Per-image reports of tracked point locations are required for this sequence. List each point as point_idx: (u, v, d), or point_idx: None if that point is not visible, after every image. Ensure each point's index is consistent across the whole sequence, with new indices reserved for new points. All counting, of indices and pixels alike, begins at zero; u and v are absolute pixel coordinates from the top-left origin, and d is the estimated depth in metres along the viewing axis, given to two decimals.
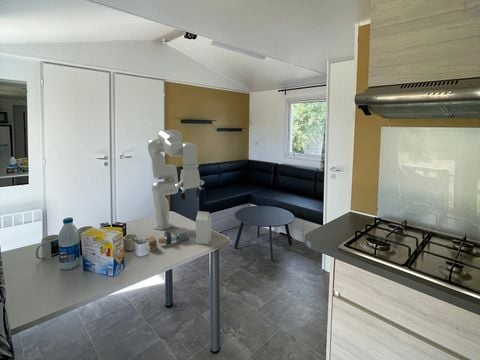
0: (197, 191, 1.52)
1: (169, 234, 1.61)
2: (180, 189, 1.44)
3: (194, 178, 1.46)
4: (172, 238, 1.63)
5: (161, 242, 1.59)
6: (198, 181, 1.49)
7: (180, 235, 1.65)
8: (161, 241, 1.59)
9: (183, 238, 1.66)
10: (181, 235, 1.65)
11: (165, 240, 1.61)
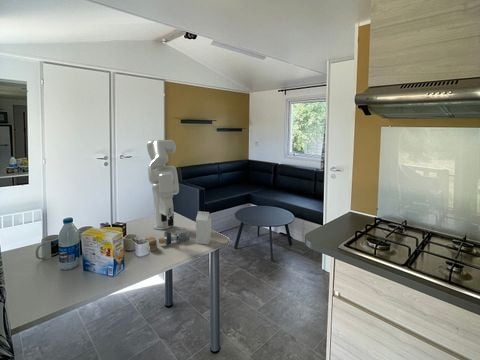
0: (163, 216, 1.63)
1: (169, 234, 1.61)
2: None
3: None
4: (172, 238, 1.63)
5: (161, 242, 1.59)
6: None
7: (180, 235, 1.65)
8: (161, 241, 1.59)
9: (183, 238, 1.66)
10: (181, 235, 1.65)
11: (165, 240, 1.61)
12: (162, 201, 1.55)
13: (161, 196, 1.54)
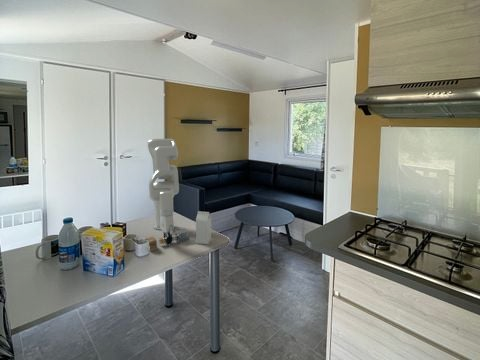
0: None
1: None
2: None
3: None
4: (172, 238, 1.63)
5: (161, 242, 1.59)
6: None
7: (180, 235, 1.65)
8: (161, 241, 1.59)
9: (183, 238, 1.66)
10: (181, 235, 1.65)
11: (165, 240, 1.61)
12: (163, 218, 1.58)
13: (162, 214, 1.56)
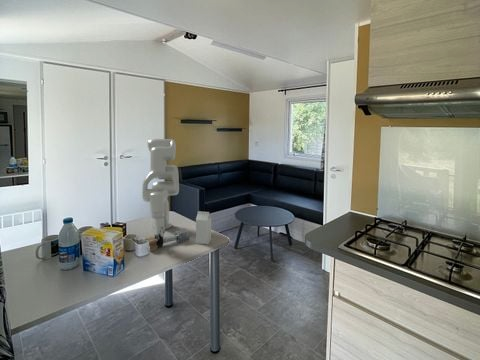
0: None
1: None
2: None
3: None
4: (163, 240, 1.60)
5: None
6: None
7: (180, 235, 1.65)
8: None
9: (183, 238, 1.66)
10: (181, 235, 1.65)
11: None
12: (153, 220, 1.55)
13: (152, 215, 1.53)
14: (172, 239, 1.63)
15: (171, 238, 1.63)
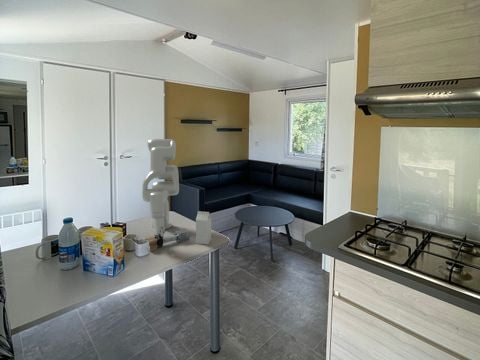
0: None
1: None
2: None
3: None
4: (163, 240, 1.60)
5: None
6: None
7: (180, 235, 1.65)
8: None
9: (183, 238, 1.66)
10: (181, 235, 1.65)
11: None
12: (153, 220, 1.55)
13: (152, 215, 1.53)
14: (172, 239, 1.63)
15: (171, 238, 1.63)
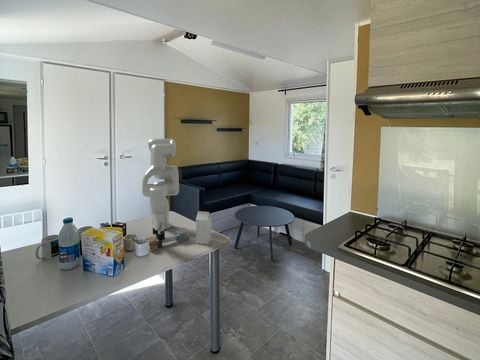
0: (155, 229, 1.63)
1: None
2: None
3: None
4: (163, 240, 1.60)
5: None
6: None
7: (180, 235, 1.65)
8: None
9: (183, 238, 1.66)
10: (181, 235, 1.65)
11: None
12: (153, 216, 1.54)
13: (152, 211, 1.53)
14: (172, 239, 1.63)
15: (171, 238, 1.63)
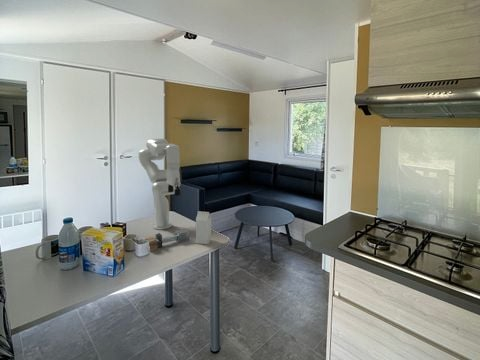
0: (170, 187, 1.71)
1: (160, 236, 1.58)
2: (179, 186, 1.62)
3: None
4: (163, 240, 1.60)
5: None
6: None
7: (180, 235, 1.65)
8: None
9: (183, 238, 1.66)
10: (181, 235, 1.65)
11: None
12: (169, 172, 1.63)
13: (168, 167, 1.61)
14: (172, 239, 1.63)
15: (171, 238, 1.63)
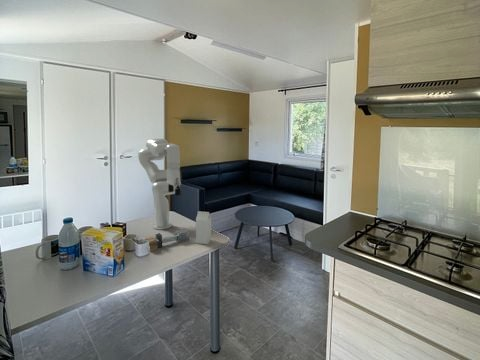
0: (170, 187, 1.71)
1: (160, 236, 1.58)
2: None
3: None
4: (163, 240, 1.60)
5: None
6: None
7: (180, 235, 1.65)
8: None
9: (183, 238, 1.66)
10: (181, 235, 1.65)
11: None
12: (169, 171, 1.63)
13: (169, 166, 1.61)
14: (172, 239, 1.63)
15: (171, 238, 1.63)
